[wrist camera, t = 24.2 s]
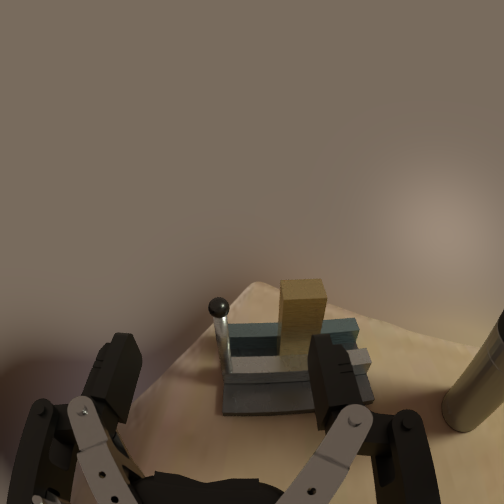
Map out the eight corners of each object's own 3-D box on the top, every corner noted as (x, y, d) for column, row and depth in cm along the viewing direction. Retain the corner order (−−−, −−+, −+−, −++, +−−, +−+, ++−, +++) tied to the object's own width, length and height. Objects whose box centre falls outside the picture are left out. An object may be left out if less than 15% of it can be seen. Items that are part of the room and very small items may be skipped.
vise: (372, 403, 35) (380, 389, 33) (223, 415, 35) (220, 402, 33) (348, 330, 49) (353, 313, 47) (227, 336, 49) (225, 319, 46)
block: (313, 364, 41) (327, 297, 34) (278, 367, 41) (283, 299, 34) (309, 346, 45) (320, 278, 37) (276, 348, 45) (280, 280, 37)
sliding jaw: (367, 375, 38) (400, 297, 30) (220, 386, 38) (205, 306, 30) (361, 358, 41) (390, 280, 33) (221, 367, 41) (209, 287, 33)
